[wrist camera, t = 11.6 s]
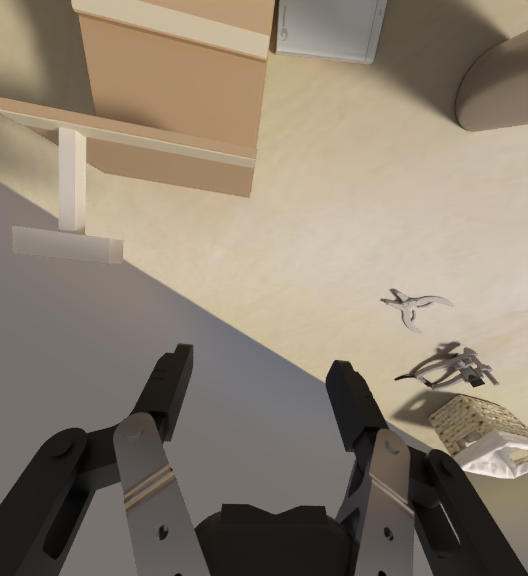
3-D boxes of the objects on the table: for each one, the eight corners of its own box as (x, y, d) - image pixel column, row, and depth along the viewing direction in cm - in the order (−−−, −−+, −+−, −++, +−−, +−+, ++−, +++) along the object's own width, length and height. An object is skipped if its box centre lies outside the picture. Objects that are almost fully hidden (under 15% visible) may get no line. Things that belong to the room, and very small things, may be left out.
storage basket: (420, 417, 72) (457, 472, 59) (458, 389, 65) (509, 443, 52) (469, 429, 78) (511, 480, 65) (509, 403, 71) (566, 456, 58)
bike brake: (466, 340, 53) (391, 371, 63) (488, 364, 48) (402, 395, 57) (486, 362, 58) (413, 388, 68) (507, 386, 53) (425, 411, 63)
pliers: (422, 337, 51) (376, 315, 47) (418, 332, 53) (373, 311, 49) (458, 306, 47) (410, 279, 43) (452, 302, 49) (406, 276, 44)
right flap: (257, 148, 15) (241, 281, 16) (250, 192, 25) (240, 270, 26) (-8, 95, 13) (-2, 252, 14) (104, 167, 23) (102, 252, 24)
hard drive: (275, 51, 26) (374, 61, 27) (282, -64, 22) (398, -47, 23) (274, 56, 27) (368, 66, 28) (280, -50, 23) (390, -34, 24)
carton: (282, -35, 23) (362, -532, 7) (253, 185, 34) (257, 206, 17) (120, -87, 21) (-358, -1004, 5) (144, 165, 32) (27, 167, 15)
